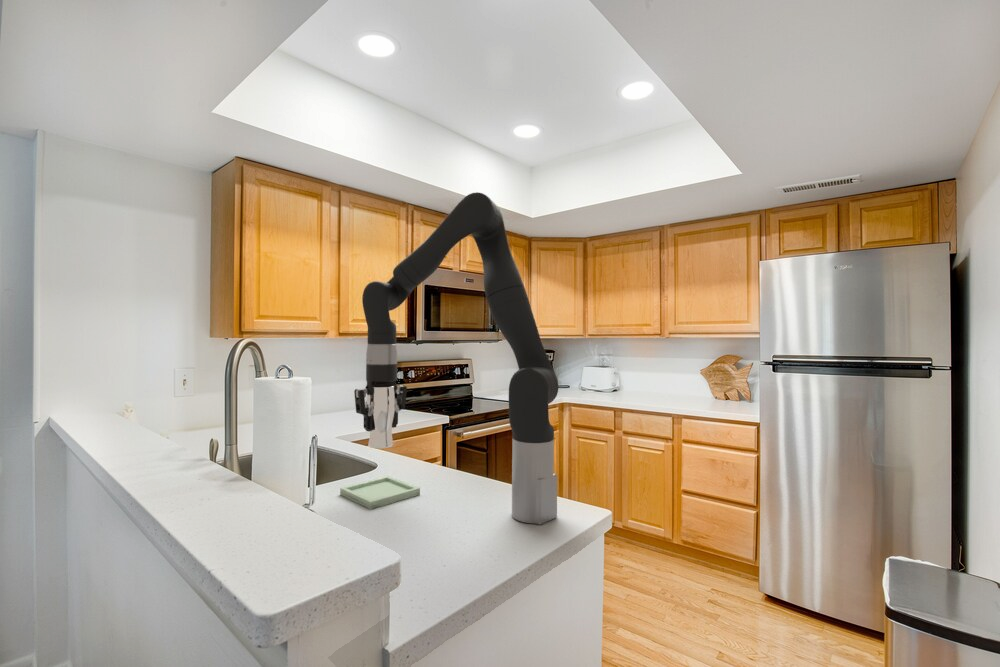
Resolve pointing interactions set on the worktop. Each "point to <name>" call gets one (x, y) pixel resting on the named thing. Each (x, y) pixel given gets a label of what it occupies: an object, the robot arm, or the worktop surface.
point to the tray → (379, 492)
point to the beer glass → (382, 416)
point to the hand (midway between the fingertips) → (381, 428)
